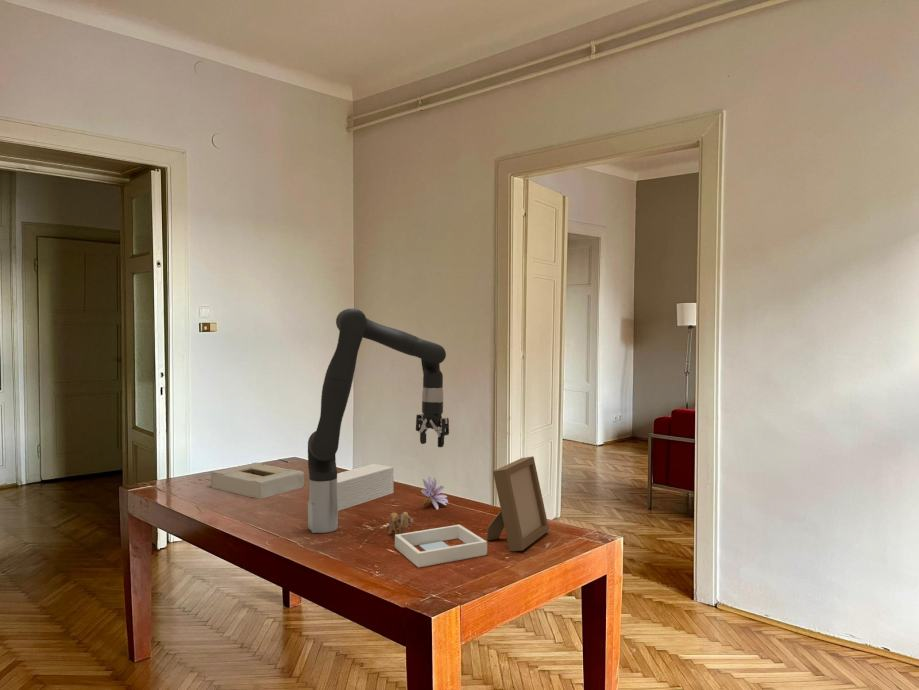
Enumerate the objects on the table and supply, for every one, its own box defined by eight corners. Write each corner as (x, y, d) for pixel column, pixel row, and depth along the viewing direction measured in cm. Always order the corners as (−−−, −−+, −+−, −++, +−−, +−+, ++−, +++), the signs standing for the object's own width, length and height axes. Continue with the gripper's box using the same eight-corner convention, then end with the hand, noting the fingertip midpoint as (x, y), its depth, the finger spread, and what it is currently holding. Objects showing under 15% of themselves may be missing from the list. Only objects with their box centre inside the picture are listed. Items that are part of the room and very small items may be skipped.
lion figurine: (415, 540, 213) (415, 512, 213) (400, 543, 210) (400, 515, 210) (393, 528, 225) (393, 501, 225) (379, 530, 223) (379, 504, 222)
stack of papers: (374, 489, 277) (374, 463, 276) (393, 493, 270) (393, 467, 270) (315, 507, 251) (315, 479, 250) (335, 512, 245) (335, 483, 244)
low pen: (418, 567, 190) (418, 553, 190) (394, 547, 206) (394, 534, 206) (487, 554, 200) (487, 541, 200) (459, 536, 216) (459, 524, 216)
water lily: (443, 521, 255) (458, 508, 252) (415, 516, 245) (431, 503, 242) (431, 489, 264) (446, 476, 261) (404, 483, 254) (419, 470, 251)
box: (305, 488, 281) (255, 477, 299) (305, 469, 280) (254, 460, 298) (260, 501, 261) (210, 489, 279) (260, 482, 261) (209, 471, 279)
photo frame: (549, 533, 220) (549, 458, 219) (522, 553, 201) (522, 471, 200) (508, 526, 227) (508, 453, 226) (478, 545, 208) (478, 466, 207)
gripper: (411, 399, 239) (410, 444, 239) (439, 402, 229) (439, 449, 230) (425, 397, 244) (425, 441, 245) (454, 401, 235) (453, 446, 235)
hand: (431, 445), depth 237 cm, fingers open, 8 cm apart
